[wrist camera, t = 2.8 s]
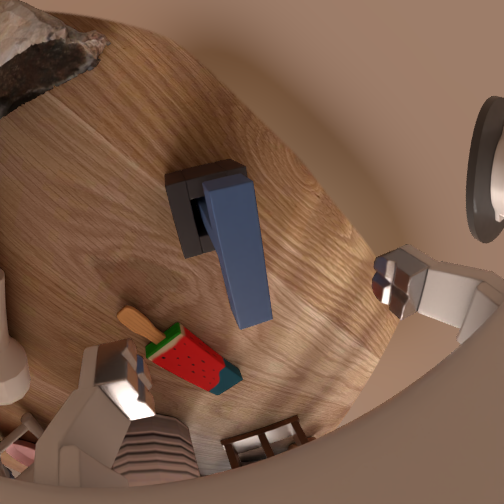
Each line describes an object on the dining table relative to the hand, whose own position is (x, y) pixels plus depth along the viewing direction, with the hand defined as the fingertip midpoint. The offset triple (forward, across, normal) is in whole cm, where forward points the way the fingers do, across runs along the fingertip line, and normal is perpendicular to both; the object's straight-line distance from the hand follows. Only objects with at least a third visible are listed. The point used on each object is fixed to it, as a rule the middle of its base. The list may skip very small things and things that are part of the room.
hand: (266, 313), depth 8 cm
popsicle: (+14, +5, +14) cm, 20 cm away
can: (+14, +15, +28) cm, 35 cm away
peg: (+14, 0, 0) cm, 14 cm away
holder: (+14, 0, 0) cm, 14 cm away
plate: (+14, +43, +34) cm, 56 cm away
